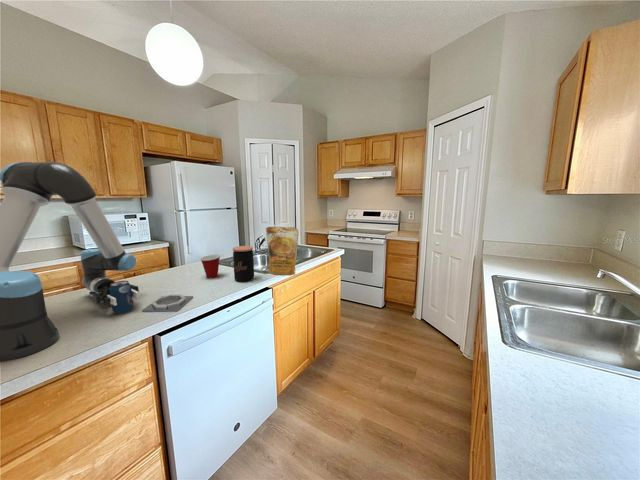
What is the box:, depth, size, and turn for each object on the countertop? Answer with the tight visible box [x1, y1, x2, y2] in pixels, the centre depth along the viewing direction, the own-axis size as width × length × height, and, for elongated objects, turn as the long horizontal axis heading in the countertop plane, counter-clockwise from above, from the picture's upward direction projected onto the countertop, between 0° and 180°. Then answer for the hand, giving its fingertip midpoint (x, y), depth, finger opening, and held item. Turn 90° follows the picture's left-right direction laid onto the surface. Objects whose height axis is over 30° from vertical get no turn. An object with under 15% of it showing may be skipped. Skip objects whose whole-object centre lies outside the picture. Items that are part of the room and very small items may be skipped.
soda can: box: [109, 280, 135, 315], centre depth 103 cm, size 7×7×12 cm
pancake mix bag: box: [265, 226, 299, 276], centre depth 150 cm, size 7×19×28 cm, turn 80°
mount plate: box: [141, 294, 194, 313], centre depth 110 cm, size 14×14×2 cm
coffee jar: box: [232, 245, 255, 283], centre depth 141 cm, size 11×11×18 cm
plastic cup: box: [199, 254, 221, 279], centre depth 146 cm, size 11×11×12 cm
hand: (126, 298), depth 100 cm, fingers closed on soda can, 7 cm apart
